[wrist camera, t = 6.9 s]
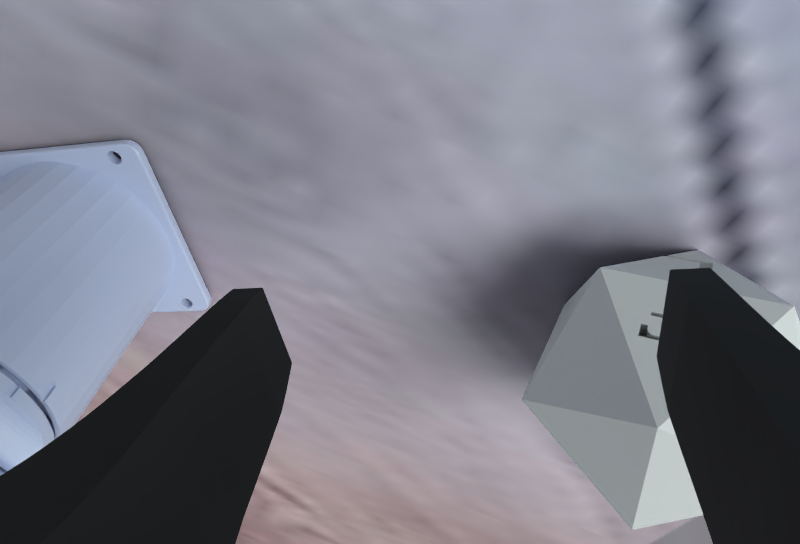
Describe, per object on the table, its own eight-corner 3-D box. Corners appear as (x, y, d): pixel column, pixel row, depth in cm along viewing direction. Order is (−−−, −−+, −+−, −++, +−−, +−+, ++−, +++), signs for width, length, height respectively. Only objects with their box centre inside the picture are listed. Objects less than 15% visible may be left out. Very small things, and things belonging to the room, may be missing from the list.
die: (823, 268, 22) (908, 303, 13) (762, 486, 23) (800, 652, 14) (591, 227, 25) (533, 233, 17) (551, 418, 27) (479, 517, 18)
